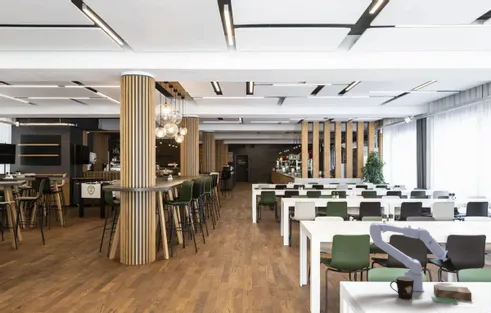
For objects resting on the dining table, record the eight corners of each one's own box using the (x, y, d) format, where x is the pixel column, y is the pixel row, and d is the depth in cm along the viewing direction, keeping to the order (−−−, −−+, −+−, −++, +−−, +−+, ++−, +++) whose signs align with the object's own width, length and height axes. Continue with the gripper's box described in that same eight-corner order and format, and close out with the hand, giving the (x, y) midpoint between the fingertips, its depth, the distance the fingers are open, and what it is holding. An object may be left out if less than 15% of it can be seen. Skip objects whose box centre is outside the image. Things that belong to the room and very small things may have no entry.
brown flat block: (436, 297, 200) (436, 289, 200) (433, 291, 210) (433, 284, 210) (471, 301, 195) (471, 292, 195) (467, 295, 205) (467, 287, 205)
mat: (433, 301, 194) (433, 301, 194) (431, 297, 201) (431, 296, 201) (458, 304, 190) (458, 303, 190) (455, 299, 197) (455, 298, 197)
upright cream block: (438, 289, 201) (438, 285, 201) (436, 286, 206) (436, 282, 206) (457, 291, 198) (457, 287, 198) (455, 288, 203) (455, 284, 204)
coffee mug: (413, 296, 202) (413, 277, 202) (415, 301, 194) (414, 281, 194) (389, 294, 206) (389, 275, 206) (390, 299, 197) (390, 279, 198)
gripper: (443, 246, 204) (462, 267, 201) (439, 241, 218) (456, 261, 215) (432, 254, 206) (450, 275, 202) (428, 248, 219) (446, 268, 216)
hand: (453, 268), depth 209 cm, fingers open, 7 cm apart
